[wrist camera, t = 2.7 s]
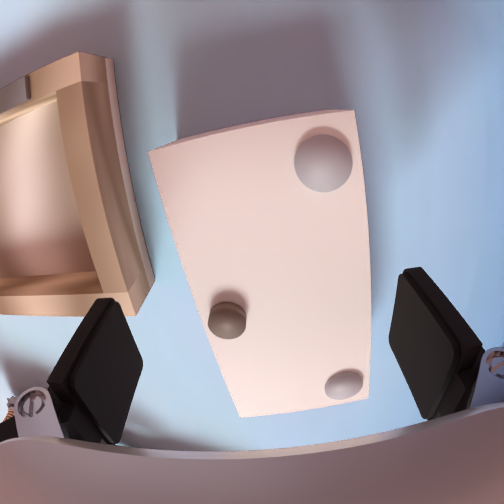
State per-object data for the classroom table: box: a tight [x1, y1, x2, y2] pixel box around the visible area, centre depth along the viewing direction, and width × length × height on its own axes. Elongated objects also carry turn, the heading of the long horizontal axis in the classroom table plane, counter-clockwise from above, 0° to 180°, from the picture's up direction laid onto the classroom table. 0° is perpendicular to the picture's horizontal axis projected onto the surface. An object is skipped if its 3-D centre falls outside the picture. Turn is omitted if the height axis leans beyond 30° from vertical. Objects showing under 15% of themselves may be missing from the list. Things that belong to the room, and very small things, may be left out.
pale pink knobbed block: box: [148, 109, 371, 418], centre depth 13 cm, size 13×6×4 cm, turn 12°
